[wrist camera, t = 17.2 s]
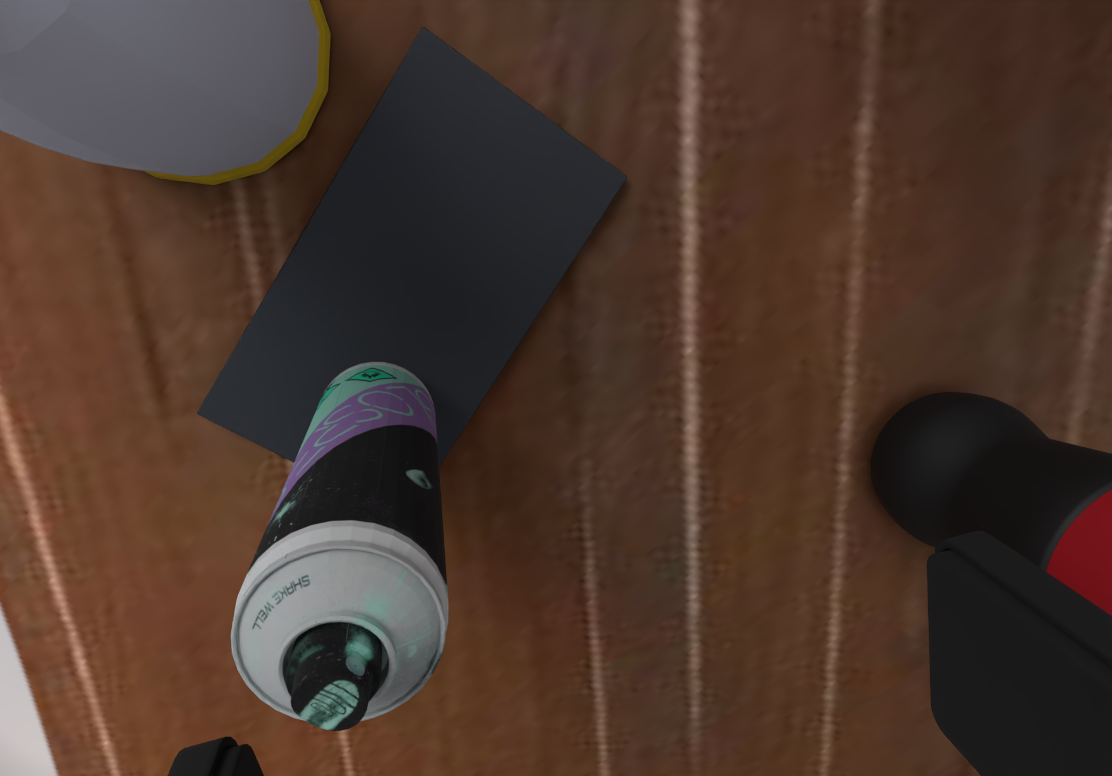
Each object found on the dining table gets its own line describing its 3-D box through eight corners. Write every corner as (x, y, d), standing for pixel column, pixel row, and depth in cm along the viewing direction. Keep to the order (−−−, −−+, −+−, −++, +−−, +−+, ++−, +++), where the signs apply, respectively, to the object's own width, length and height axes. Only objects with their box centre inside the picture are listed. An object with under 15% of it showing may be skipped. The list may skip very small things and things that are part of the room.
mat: (625, 177, 34) (628, 177, 34) (406, 513, 37) (405, 518, 37) (422, 28, 31) (422, 25, 31) (199, 410, 34) (196, 414, 33)
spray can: (442, 368, 35) (470, 603, 16) (427, 473, 36) (437, 802, 17) (323, 353, 34) (204, 589, 15) (313, 463, 35) (192, 804, 16)
